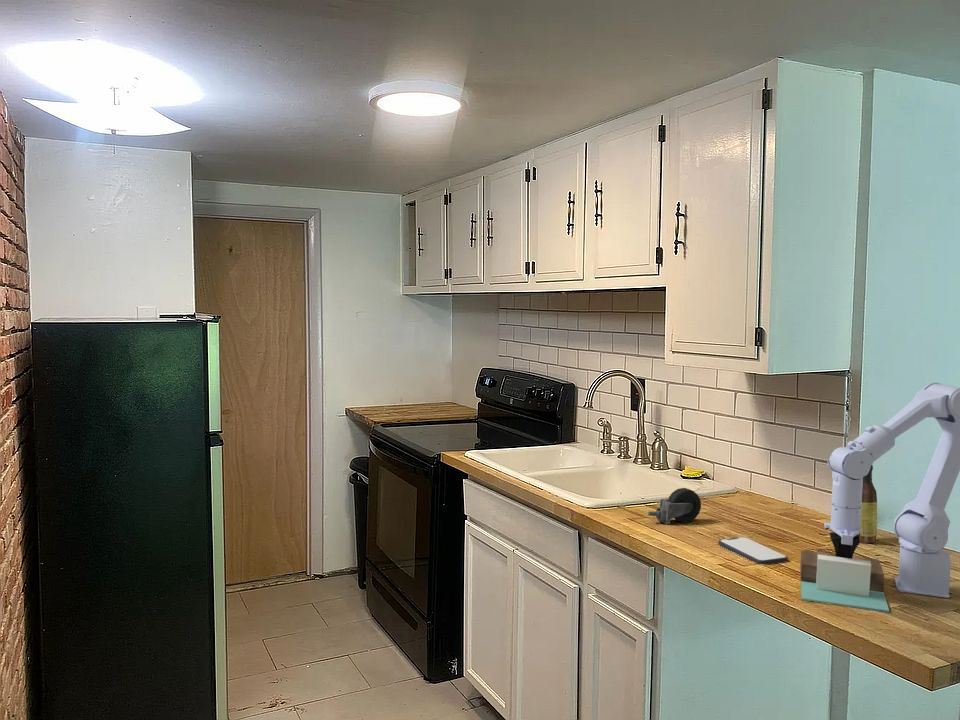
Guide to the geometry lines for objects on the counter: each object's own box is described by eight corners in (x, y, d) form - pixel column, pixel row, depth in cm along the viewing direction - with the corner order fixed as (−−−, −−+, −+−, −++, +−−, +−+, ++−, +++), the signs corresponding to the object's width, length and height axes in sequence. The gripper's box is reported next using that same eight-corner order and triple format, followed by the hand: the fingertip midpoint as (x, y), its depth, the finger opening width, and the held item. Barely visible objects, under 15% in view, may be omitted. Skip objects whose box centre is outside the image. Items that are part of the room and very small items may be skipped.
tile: (870, 561, 162) (871, 565, 160) (868, 591, 163) (868, 596, 162) (817, 554, 165) (817, 558, 164) (816, 584, 167) (816, 588, 165)
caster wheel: (691, 520, 220) (642, 518, 216) (695, 487, 219) (647, 484, 216) (701, 526, 214) (652, 524, 211) (706, 492, 214) (656, 489, 210)
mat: (883, 594, 164) (883, 592, 164) (889, 612, 154) (889, 610, 154) (800, 582, 170) (800, 581, 170) (801, 600, 160) (801, 598, 160)
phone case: (790, 563, 184) (744, 542, 199) (790, 557, 184) (744, 536, 199) (760, 568, 181) (715, 545, 196) (760, 561, 181) (716, 539, 196)
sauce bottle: (879, 540, 201) (883, 464, 199) (871, 545, 196) (876, 467, 195) (852, 534, 206) (856, 460, 204) (844, 540, 201) (848, 463, 199)
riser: (877, 577, 174) (878, 559, 174) (883, 593, 164) (884, 574, 164) (800, 566, 180) (801, 550, 180) (800, 582, 170) (801, 564, 170)
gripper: (824, 495, 172) (821, 555, 173) (826, 511, 159) (823, 577, 160) (859, 498, 170) (856, 560, 171) (865, 515, 156) (861, 582, 157)
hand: (842, 568), depth 165 cm, fingers closed
